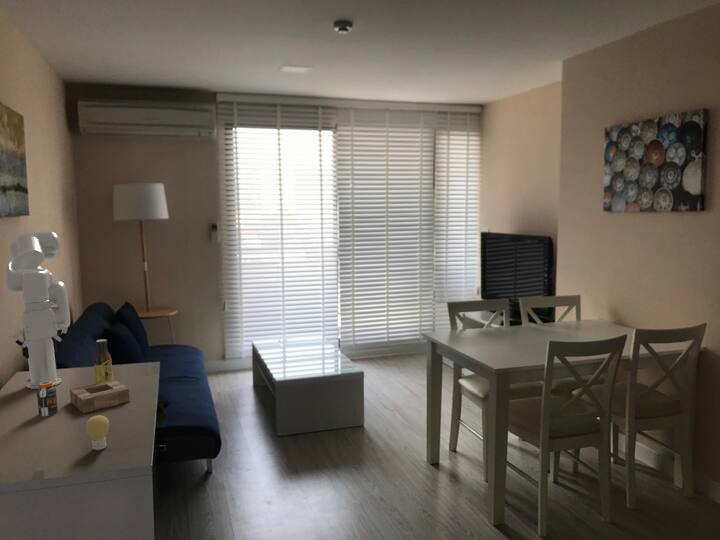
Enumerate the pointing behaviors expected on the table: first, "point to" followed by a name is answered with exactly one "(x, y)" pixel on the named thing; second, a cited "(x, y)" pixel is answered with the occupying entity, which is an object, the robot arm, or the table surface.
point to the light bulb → (97, 431)
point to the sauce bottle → (102, 363)
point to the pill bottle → (47, 399)
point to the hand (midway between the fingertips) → (42, 355)
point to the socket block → (99, 395)
